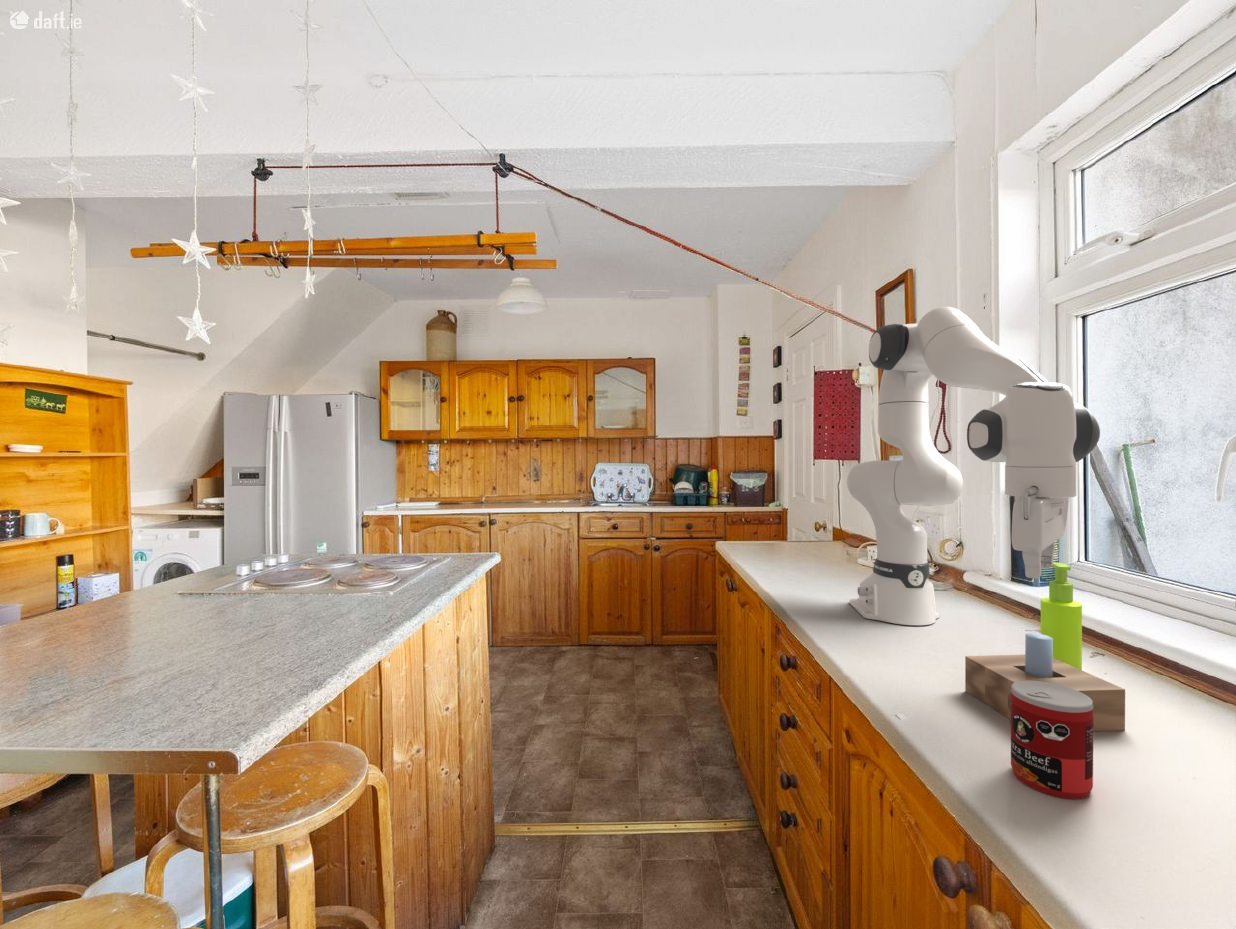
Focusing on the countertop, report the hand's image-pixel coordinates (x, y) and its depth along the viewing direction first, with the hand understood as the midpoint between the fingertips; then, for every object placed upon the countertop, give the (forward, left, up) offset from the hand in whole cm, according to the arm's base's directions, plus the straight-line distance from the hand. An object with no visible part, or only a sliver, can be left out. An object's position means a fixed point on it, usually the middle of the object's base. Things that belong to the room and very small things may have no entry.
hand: (1039, 572), depth 85 cm
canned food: (+18, -14, -22) cm, 32 cm away
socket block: (0, 0, -22) cm, 22 cm away
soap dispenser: (-14, +16, -22) cm, 30 cm away
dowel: (0, 0, -21) cm, 21 cm away
